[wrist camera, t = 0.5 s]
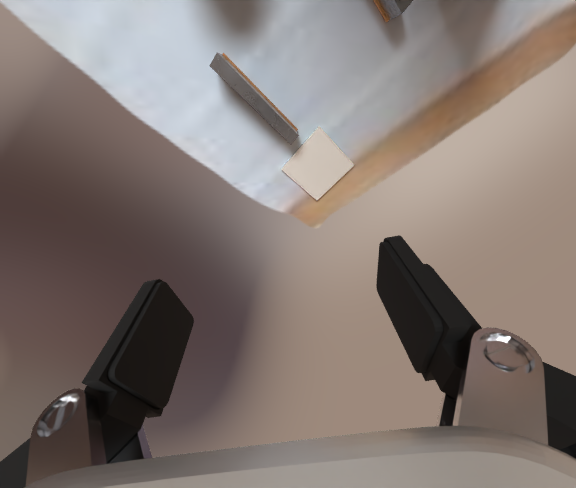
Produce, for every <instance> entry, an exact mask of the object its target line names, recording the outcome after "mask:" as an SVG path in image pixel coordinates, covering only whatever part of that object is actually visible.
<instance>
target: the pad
mask: <svg viewBox="0 0 576 488" xmlns="http://www.w3.org/2000/svg"><path fill="white" fill-rule="evenodd" d="M353 166H354V164H353V163H352V162H351V161H350V159H349V158H348V157H347V156H346V155H345V154H344V153H343V152H342V151H341V150H340V148H339V147H338V146H337V145H336V144H335V143H334V142H333V141H332V140H331V139H330V137H329V136H328V135H327V134H326V133H325V132H324V131H323V130H322V129H321V128H320V126H318V128H317V129H316V130H315V131H314V132H313V133H312V134H311V136H310V137H309V138H308V139H307V140H306V141H305V142H304V144H303V145H302V146H301V147H300V148H299V149H298V150H297V152H296V153H295V154H294V155H293V156H292V157H291V158H290V160H289V161H288V162H287V163H286V164H285V165H284V166H283V168H282V171H284V172H285V173H286V174H287V175H288V176H289V177H290V178H292V179H293V180H294V181H295V182H296V183H297V184H298V185H300V186H301V187H302V188H303V189H304V190H305V191H306V192H307V193H309V194H310V195H311V196H312V197H313V198H314V199H315V200H318V199H319V198H320V197H322V196H323V195H324V194H325V193H326V192H327V191H328V190H329V189H330V188H331V187H332V186H333V185H334V184H335V183H336V182H337V181H338V180H339V179H340V178H341V177H342V176H344V175H345V174H346V173H347V172H348V171H349V170H350V169H351V168H352V167H353Z"/></svg>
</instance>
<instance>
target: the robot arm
mask: <svg viewBox="0 0 576 488" xmlns="http://www.w3.org/2000/svg"><path fill="white" fill-rule="evenodd" d="M377 291H378V294H379V296H380V298H381V300H382V302H383V304H384V306H385V309H386V310H387V313H388V315H389V317H390V319H391V321H392V323H393V325H394V327H395V329H396V332H397V333H398V336H399V338H400V340H401V342H402V344H403V346H404V348H405V350H406V352H407V354H408V357H409V359H410V361H411V363H412V365H413V367H414V369H415V370H416V372H417V373H422V375H423V377H424V379H425V381H429V380H436V382H437V384H438V386H439V388H440V390H441V391H442V392H443V396H442V400H441V405H440V410H439V415H438V419H437V424H436V427H421V428H410V429H400V430H389V431H378V432H369V433H360V434H351V435H342V436H334V437H325V438H316V439H307V440H298V441H289V442H281V443H273V444H264V445H256V446H248V447H238V448H231V449H221V450H213V451H205V452H196V453H188V454H180V455H172V456H165V457H156V458H152V455H151V451H150V448H149V444H148V440H147V437H146V433H145V429H144V426H143V422H144V419H145V416H146V417H148V418H150V417H157V416H161V414H162V411H163V408H164V407H165V406H166V405H167V403H168V401H169V398H170V395H171V392H172V389H173V386H174V382H175V379H176V376H177V373H178V370H179V367H180V364H181V360H182V358H183V355H184V351H185V348H186V345H187V342H188V339H189V336H190V333H191V330H192V327H193V323H194V320H193V316H192V315H191V314H190V312H189V311H188V310H187V308H186V307H185V306H184V305H183V303H182V302H181V301H180V299H179V298H178V297H177V296H176V294H175V293H174V292H173V290H172V289H171V288H170V287H169V285H168V284H167V283H166V282H163V281H162V280H160V279H158V280H152V281H147V282H145V283H144V284H143V285H142V287H141V288H140V290H139V291H138V293H137V295H136V296H135V298H134V300H133V301H132V303H131V304H130V306H129V308H128V309H127V311H126V312H125V314H124V316H123V317H122V319H121V320H120V322H119V324H118V325H117V327H116V329H115V330H114V332H113V333H112V335H111V336H110V338H109V340H108V341H107V343H106V345H105V346H104V348H103V349H102V351H101V353H100V354H99V356H98V357H97V359H96V361H95V362H94V364H93V365H92V367H91V369H90V370H89V372H88V373H87V375H86V377H85V378H84V380H83V381H82V383H83V384H85V385H87V386H86V388H85V390H82V389H80V388H74V389H71V390H68V391H66V392H64V393H63V394H61V395H60V396H58V397H57V398H56V399H55V400H53V401H52V402H51V403H50V404H49V405H48V406H47V407H46V408H45V409H44V410H43V412H42V413H41V414H40V416H39V417H38V419H37V420H36V422H35V424H34V426H33V428H32V432H31V437H30V439H28V440H27V441H26V442H24V443H23V444H22V445H21V446H20V447H18V448H17V449H16V450H15V451H13V452H12V453H11V454H10V455H8V456H7V457H6V458H5V459H3V460H2V461H1V462H0V488H576V376H574V375H572V374H570V373H567V372H565V371H563V370H560V369H558V368H556V367H553V366H551V365H549V364H547V363H544V362H542V359H541V357H540V356H539V354H538V353H537V352H536V350H535V349H534V348H533V347H532V346H531V345H530V344H528V342H526V341H525V340H523V339H522V338H520V337H519V336H517V335H515V334H513V333H511V332H508V331H506V330H502V329H498V328H483V329H482V328H481V326H480V325H479V324H478V323H477V322H476V320H475V319H474V318H473V317H472V315H471V314H470V313H469V312H468V311H467V309H466V308H465V307H464V306H463V305H462V303H461V302H460V301H459V300H458V298H457V297H456V296H455V295H454V294H453V292H452V291H451V290H450V289H449V288H448V286H447V285H446V284H445V283H444V281H443V280H442V279H441V278H440V277H439V275H438V274H437V273H436V272H435V271H434V269H433V268H432V267H431V266H430V265H428V264H423V263H422V262H421V261H420V259H419V258H418V257H417V256H416V254H415V253H414V252H413V251H412V249H411V248H410V247H409V246H408V244H407V243H406V242H405V240H404V239H403V238H402V237H401V236H394V237H388V238H385V239H384V242H381V243H380V246H379V260H378V272H377Z"/></svg>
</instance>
